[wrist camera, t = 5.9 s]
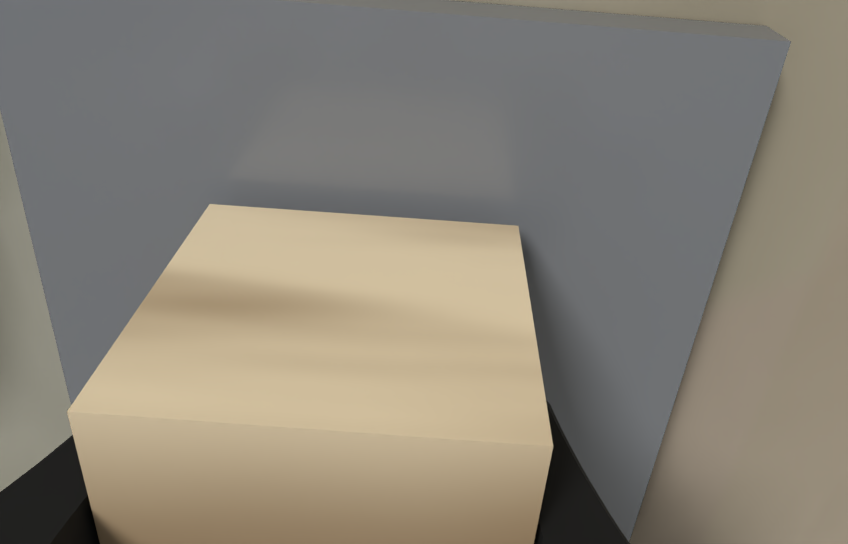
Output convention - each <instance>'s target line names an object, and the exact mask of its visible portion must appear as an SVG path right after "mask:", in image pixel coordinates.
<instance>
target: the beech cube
mask: <svg viewBox="0 0 848 544" xmlns="http://www.w3.org/2000/svg"><path fill="white" fill-rule="evenodd" d="M67 413H68V417H69V421H70V425H71V429H72V433H73V437H74V441H75V446H76V450H77V454H78V458H79V462H80V466H81V470H82V474H83V478H84V482H85V486H86V490H87V494H88V498H89V502H90V506H91V510H92V514H93V518H94V522H95V526H96V530H97V534H98V538H99V542H100V544H534V540H535V535H536V530H537V525H538V520H539V515H540V510H541V505H542V500H543V495H544V490H545V485H546V480H547V475H548V471H549V466H550V461H551V456H552V451H553V441H552V435H551V429H550V422H549V416H548V410H547V403H546V397H545V391H544V384H543V378H542V372H541V366H540V359H539V353H538V347H537V340H536V334H535V328H534V321H533V315H532V309H531V302H530V296H529V290H528V283H527V277H526V271H525V264H524V258H523V252H522V246H521V239H520V233H519V227H518V226H515V225H501V224H487V223H472V222H458V221H444V220H430V219H416V218H402V217H387V216H373V215H359V214H345V213H331V212H317V211H302V210H288V209H274V208H260V207H246V206H232V205H217V204H209V206H208V207H207V209H206V210H205V211H204V213H203V214H202V216H201V217H200V219H199V220H198V222H197V223H196V225H195V226H194V227H193V229H192V230H191V232H190V233H189V235H188V236H187V238H186V239H185V241H184V242H183V244H182V245H181V246H180V248H179V249H178V251H177V252H176V254H175V255H174V257H173V258H172V260H171V261H170V262H169V264H168V265H167V267H166V268H165V270H164V271H163V273H162V274H161V276H160V277H159V278H158V280H157V281H156V283H155V284H154V286H153V287H152V289H151V290H150V292H149V293H148V294H147V296H146V297H145V299H144V300H143V302H142V303H141V305H140V306H139V308H138V309H137V310H136V312H135V313H134V315H133V316H132V318H131V319H130V321H129V322H128V324H127V325H126V326H125V328H124V329H123V331H122V332H121V334H120V335H119V337H118V338H117V340H116V341H115V342H114V344H113V345H112V347H111V348H110V350H109V351H108V353H107V354H106V356H105V357H104V358H103V360H102V361H101V363H100V364H99V366H98V367H97V369H96V370H95V372H94V373H93V374H92V376H91V377H90V379H89V380H88V382H87V383H86V385H85V386H84V388H83V389H82V391H81V392H80V393H79V395H78V396H77V398H76V399H75V401H74V402H73V404H72V405H71V407H70V408H69V409H68V411H67Z"/></svg>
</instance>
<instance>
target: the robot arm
mask: <svg viewBox="0 0 848 544" xmlns="http://www.w3.org/2000/svg"><path fill="white" fill-rule="evenodd" d="M546 403H547V410H548V416H549V422H550V429H551V435H552V441H553V451H552V456H551V461H550V466H549V471H548V475H547V480H546V485H545V490H544V495H543V500H542V505H541V510H540V515H539V520H538V525H537V530H536V535H535V540H534V544H630V543H629V542H628V540H627V539H626V537H625V536H624V534H623V533H622V531H621V530H620V528H619V527H618V525H617V524H616V522H615V521H614V519H613V518H612V516H611V515H610V513H609V511H608V510H607V508H606V506H605V505H604V503H603V502H602V500H601V498H600V497H599V495H598V493H597V492H596V490H595V488H594V487H593V485H592V483H591V482H590V480H589V478H588V477H587V475H586V473H585V471H584V470H583V468H582V466H581V464H580V463H579V461H578V459H577V457H576V455H575V453H574V452H573V450H572V448H571V446H570V444H569V442H568V440H567V438H566V436H565V434H564V432H563V430H562V428H561V426H560V424H559V422H558V420H557V418H556V416H555V414H554V412H553V409H552V407H551V405H550V404H549V402H548V401H547V400H546ZM0 544H100V542H99V538H98V534H97V530H96V526H95V522H94V518H93V514H92V510H91V506H90V502H89V498H88V494H87V490H86V486H85V482H84V478H83V474H82V470H81V466H80V462H79V458H78V454H77V450H76V446H75V441H74V437H73V435H72V436H71V437H70V438H68V439H67V440H66V441H65V442H64V443H62V444H61V445H60V446H59V447H58V448H56V449H55V450H54V451H53V452H51V453H50V454H49V455H48V456H47V457H45V458H44V459H43V460H42V461H40V462H39V463H38V464H37V465H35V466H34V467H33V468H31V469H30V470H29V471H28V472H26V473H25V474H24V475H22V476H21V477H20V478H18V479H17V480H16V481H14V482H13V483H12V484H10V485H9V486H8V487H6V488H5V489H4V490H3V491H1V492H0Z"/></svg>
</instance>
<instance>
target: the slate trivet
mask: <svg viewBox="0 0 848 544" xmlns="http://www.w3.org/2000/svg"><path fill="white" fill-rule="evenodd" d="M790 43H791V41H789V40H788V39H786V38H785V37H783V36H781V35H780V34H778V33H777V32H775V31H774V30H772V29H770V28H769V27H767V26H761V25H749V24H736V23H724V22H712V21H699V20H687V19H674V18H662V17H650V16H637V15H625V14H612V13H600V12H588V11H575V10H563V9H550V8H538V7H525V6H513V5H501V4H488V3H476V2H463V1H451V0H0V110H1V114H2V119H3V123H4V127H5V131H6V135H7V139H8V143H9V148H10V152H11V156H12V160H13V164H14V168H15V173H16V177H17V181H18V185H19V189H20V193H21V198H22V202H23V206H24V210H25V214H26V218H27V223H28V227H29V231H30V235H31V239H32V243H33V248H34V252H35V256H36V260H37V264H38V268H39V273H40V277H41V281H42V285H43V289H44V293H45V298H46V302H47V306H48V310H49V314H50V318H51V323H52V327H53V331H54V335H55V339H56V343H57V348H58V352H59V356H60V360H61V364H62V368H63V373H64V377H65V381H66V385H67V389H68V393H69V398H70V402H71V405H72V404H73V402H74V401H75V399H76V398H77V396H78V395H79V393H80V392H81V391H82V389H83V388H84V386H85V385H86V383H87V382H88V380H89V379H90V377H91V376H92V374H93V373H94V372H95V370H96V369H97V367H98V366H99V364H100V363H101V361H102V360H103V358H104V357H105V356H106V354H107V353H108V351H109V350H110V348H111V347H112V345H113V344H114V342H115V341H116V340H117V338H118V337H119V335H120V334H121V332H122V331H123V329H124V328H125V326H126V325H127V324H128V322H129V321H130V319H131V318H132V316H133V315H134V313H135V312H136V310H137V309H138V308H139V306H140V305H141V303H142V302H143V300H144V299H145V297H146V296H147V294H148V293H149V292H150V290H151V289H152V287H153V286H154V284H155V283H156V281H157V280H158V278H159V277H160V276H161V274H162V273H163V271H164V270H165V268H166V267H167V265H168V264H169V262H170V261H171V260H172V258H173V257H174V255H175V254H176V252H177V251H178V249H179V248H180V246H181V245H182V244H183V242H184V241H185V239H186V238H187V236H188V235H189V233H190V232H191V230H192V229H193V227H194V226H195V225H196V223H197V222H198V220H199V219H200V217H201V216H202V214H203V213H204V211H205V210H206V209H207V207H208V206H209V204H217V205H232V206H246V207H260V208H274V209H288V210H302V211H317V212H331V213H345V214H359V215H373V216H387V217H402V218H416V219H430V220H444V221H458V222H472V223H487V224H501V225H515V226H518V227H519V233H520V239H521V246H522V252H523V258H524V264H525V271H526V277H527V283H528V290H529V296H530V302H531V309H532V315H533V321H534V328H535V334H536V340H537V347H538V353H539V359H540V366H541V372H542V378H543V384H544V391H545V397H546V400H547V401H548V402H549V404H550V405H551V407H552V409H553V412H554V414H555V416H556V418H557V420H558V422H559V424H560V426H561V428H562V430H563V432H564V434H565V436H566V438H567V440H568V442H569V444H570V446H571V448H572V450H573V452H574V453H575V455H576V457H577V459H578V461H579V463H580V464H581V466H582V468H583V470H584V471H585V473H586V475H587V477H588V478H589V480H590V482H591V483H592V485H593V487H594V488H595V490H596V492H597V493H598V495H599V497H600V498H601V500H602V502H603V503H604V505H605V506H606V508H607V510H608V511H609V513H610V515H611V516H612V518H613V519H614V521H615V522H616V524H617V525H618V527H619V528H620V530H621V531H622V533H623V534H624V536H625V537H626V539H627V540H628V542H629V541H630V538H631V535H632V531H633V528H634V525H635V522H636V519H637V516H638V513H639V510H640V507H641V504H642V501H643V497H644V494H645V491H646V488H647V485H648V482H649V479H650V476H651V473H652V470H653V467H654V463H655V460H656V457H657V454H658V451H659V448H660V445H661V442H662V439H663V436H664V433H665V429H666V426H667V423H668V420H669V417H670V414H671V411H672V408H673V405H674V402H675V399H676V395H677V392H678V389H679V386H680V383H681V380H682V377H683V374H684V371H685V368H686V365H687V361H688V358H689V355H690V352H691V349H692V346H693V343H694V340H695V337H696V334H697V331H698V327H699V324H700V321H701V318H702V315H703V312H704V309H705V306H706V303H707V300H708V297H709V293H710V290H711V287H712V284H713V281H714V278H715V275H716V272H717V269H718V266H719V263H720V259H721V256H722V253H723V250H724V247H725V244H726V241H727V238H728V235H729V232H730V229H731V225H732V222H733V219H734V216H735V213H736V210H737V207H738V204H739V201H740V198H741V195H742V191H743V188H744V185H745V182H746V179H747V176H748V173H749V170H750V167H751V164H752V161H753V157H754V154H755V151H756V148H757V145H758V142H759V139H760V136H761V133H762V130H763V127H764V123H765V120H766V117H767V114H768V111H769V108H770V105H771V102H772V99H773V96H774V93H775V89H776V86H777V83H778V80H779V77H780V74H781V71H782V68H783V65H784V62H785V59H786V55H787V52H788V49H789V46H790Z"/></svg>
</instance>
